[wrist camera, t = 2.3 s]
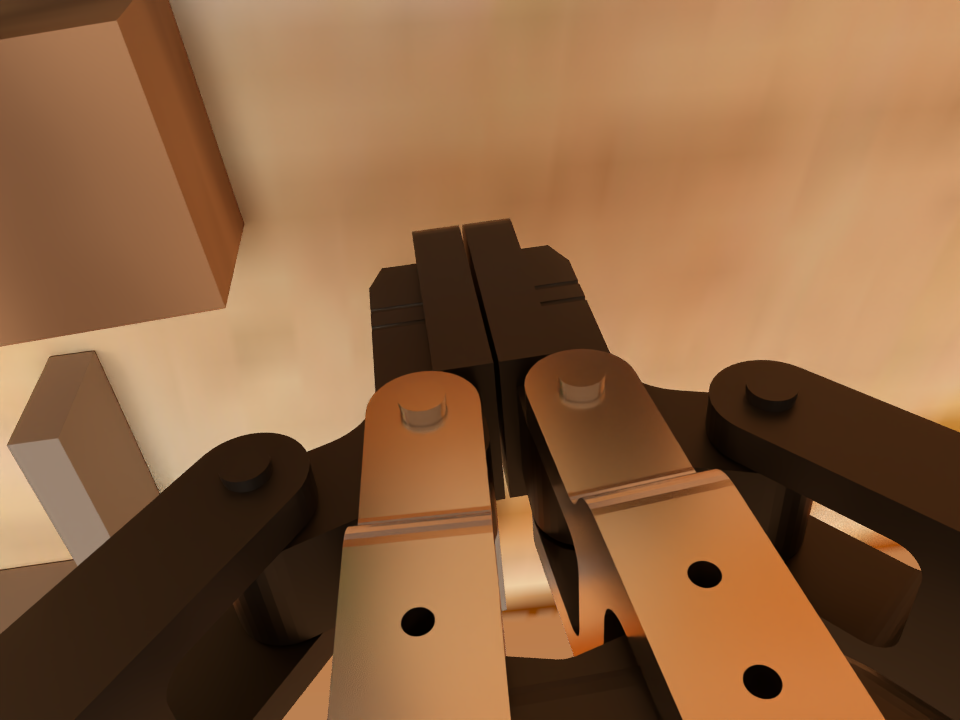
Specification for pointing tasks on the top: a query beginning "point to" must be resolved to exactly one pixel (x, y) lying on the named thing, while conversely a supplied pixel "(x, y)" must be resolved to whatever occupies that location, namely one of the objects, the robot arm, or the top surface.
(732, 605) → the robot arm
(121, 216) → the walnut block
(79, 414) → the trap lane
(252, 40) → the top surface
